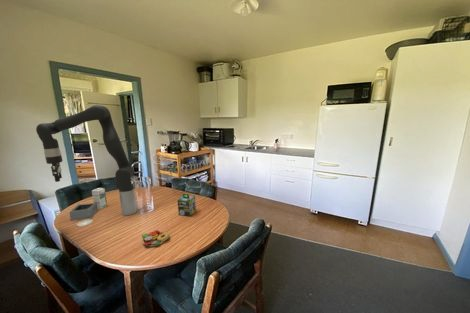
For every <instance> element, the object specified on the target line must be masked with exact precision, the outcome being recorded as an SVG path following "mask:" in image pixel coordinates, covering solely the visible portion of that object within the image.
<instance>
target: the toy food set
mask: <svg viewBox="0 0 470 313" xmlns="http://www.w3.org/2000/svg"><path fill="white" fill-rule="evenodd" d="M170 237H171V236H170V233H169V232H165V231H160V230H159V229H155V230H154V231H153V230H152V231H151V232H149V233H144V234H142V235H141V238H142V241H141V242H142V244H143V245H144V246H146V247H158V246H160V245H161V244H163V243H164V242H165V241H167V240H168V239H169V238H170Z"/></svg>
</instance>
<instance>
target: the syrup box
mask: <svg viewBox="0 0 470 313" xmlns="http://www.w3.org/2000/svg"><path fill="white" fill-rule="evenodd" d="M91 194H92V200H93V203H95V202H96V203H97V209H98V210H102V209H104V208H106V207H108V202H107V196H106V195H107V194H106V189H105V187H98V188H94V189H93V190H91Z"/></svg>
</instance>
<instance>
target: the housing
mask: <svg viewBox="0 0 470 313" xmlns="http://www.w3.org/2000/svg"><path fill="white" fill-rule="evenodd" d="M98 211H99V209H97V203H96V202H95V203H94V202H91V203H83V204H82V203H78V204H77V205H76V206H74V207H73V208H72V209H71V210H70V211H69V212H68V213H69V218H70V221H79V220H86V219H92V217H93V216H94V215H95V214H96V213H97V212H98Z"/></svg>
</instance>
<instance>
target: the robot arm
mask: <svg viewBox="0 0 470 313" xmlns="http://www.w3.org/2000/svg"><path fill="white" fill-rule="evenodd" d="M91 121H98V123H99V124H100V127H101V129H102V141H103V144H104V146H105V149H106V151H107V153H109V155H110V156H111V157H112V158H113V159H114V161H115V162H116V165H117V166H118V167H117V168H118V169H117V170H116V172H115V182H116V186H117V189H118V193H119V201H120V203H119V204H120V209H121V215H122V216H131V215H133V214H136V213H137V211H138V204H137V203H138V202H137V197H136V195H135V186H134V184H133V183H132V177H133V176H134V169H133V167H132V165H131V163H130V161H129V159H128V157H127V154H126V152H125V150H124V148H123V144H122V142H121V140H120V137H119V135H118V132H117V130H116V128H115V125H114V122H113V119H112V114H111V112H110V110H109V109H108V107H106V106H105V105H98V104H95V105H92V106H90V107H88V108H86V109H84V110H83V111H79V112H78V113H74V114H71V115H67V116H64V117H62V118H58V119H56V120H55V121H52V122H49V123H39V124H37V126H36V129H35V131H36V134H37V137H38V138H39V139H40V141H41V142H42V147H43V151H44V153H43V154H44V158H45V161H46V164H48V165H51V167H50V169H51V173H52V176H53V178H54V181H55V182H56V183H57V182H60V181H61V179H63V176H62V168H61V163H62V162H63V161H64V160H63V156H62V152H61V148H60V144H59V141H58V140H57V138H54V137H53V135H56V134H59V133H61V132H63V131H66V130H70V129H73V128H76V127H78V126H79V125H81V124H83V123H87V122H91Z"/></svg>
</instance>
